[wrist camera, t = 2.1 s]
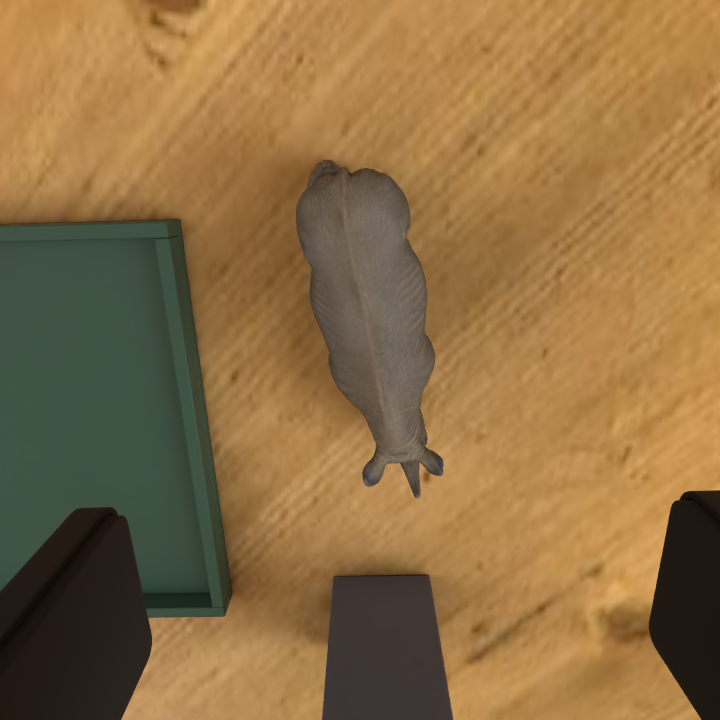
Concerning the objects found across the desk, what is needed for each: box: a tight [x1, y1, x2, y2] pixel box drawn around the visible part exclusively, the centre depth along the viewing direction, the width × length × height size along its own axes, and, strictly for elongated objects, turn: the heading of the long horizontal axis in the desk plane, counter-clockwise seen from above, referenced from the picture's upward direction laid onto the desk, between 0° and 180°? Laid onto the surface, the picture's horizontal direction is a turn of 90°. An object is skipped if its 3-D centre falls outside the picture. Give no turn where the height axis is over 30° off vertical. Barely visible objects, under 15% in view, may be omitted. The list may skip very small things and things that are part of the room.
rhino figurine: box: [296, 160, 443, 499], centre depth 19 cm, size 4×14×6 cm, turn 12°
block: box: [322, 575, 453, 720], centre depth 23 cm, size 5×5×8 cm
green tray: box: [0, 219, 232, 618], centre depth 23 cm, size 19×15×2 cm
